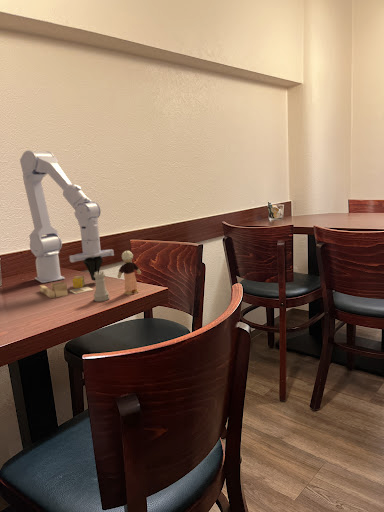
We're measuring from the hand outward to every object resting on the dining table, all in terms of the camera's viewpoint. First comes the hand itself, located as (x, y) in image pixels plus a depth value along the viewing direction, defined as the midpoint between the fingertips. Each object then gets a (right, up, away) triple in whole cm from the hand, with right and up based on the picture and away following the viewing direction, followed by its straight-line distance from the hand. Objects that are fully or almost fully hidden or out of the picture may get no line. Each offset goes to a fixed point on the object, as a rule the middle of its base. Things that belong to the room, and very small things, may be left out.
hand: (94, 279), depth 134 cm
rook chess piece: (+7, -5, -20) cm, 22 cm away
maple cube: (-7, -4, -12) cm, 15 cm away
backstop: (-12, -4, -11) cm, 16 cm away
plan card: (-2, -3, -9) cm, 9 cm away
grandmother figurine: (+14, -3, -15) cm, 21 cm away
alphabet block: (-4, -2, -3) cm, 6 cm away
